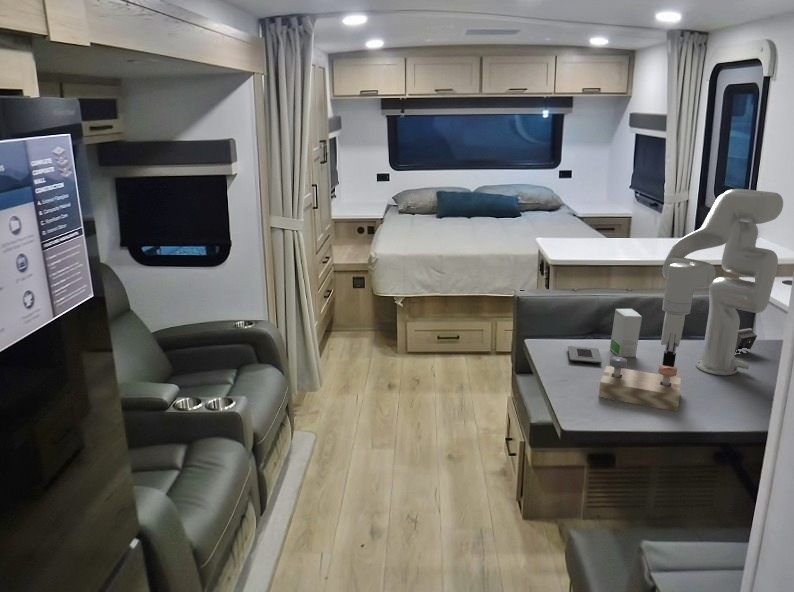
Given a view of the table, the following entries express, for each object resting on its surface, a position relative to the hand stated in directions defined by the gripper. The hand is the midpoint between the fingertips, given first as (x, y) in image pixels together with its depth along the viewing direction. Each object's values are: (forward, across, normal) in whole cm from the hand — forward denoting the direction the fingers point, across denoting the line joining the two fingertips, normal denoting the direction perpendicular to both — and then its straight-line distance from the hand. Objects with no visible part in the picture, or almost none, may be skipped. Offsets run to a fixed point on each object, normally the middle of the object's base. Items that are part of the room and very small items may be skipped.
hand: (668, 365), depth 190 cm
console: (+11, 0, -7) cm, 13 cm away
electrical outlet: (+12, -24, -27) cm, 38 cm away
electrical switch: (+11, -54, +23) cm, 60 cm away
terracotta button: (+7, 0, 0) cm, 7 cm away
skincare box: (+11, -35, -15) cm, 40 cm away
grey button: (+7, 0, -14) cm, 16 cm away
